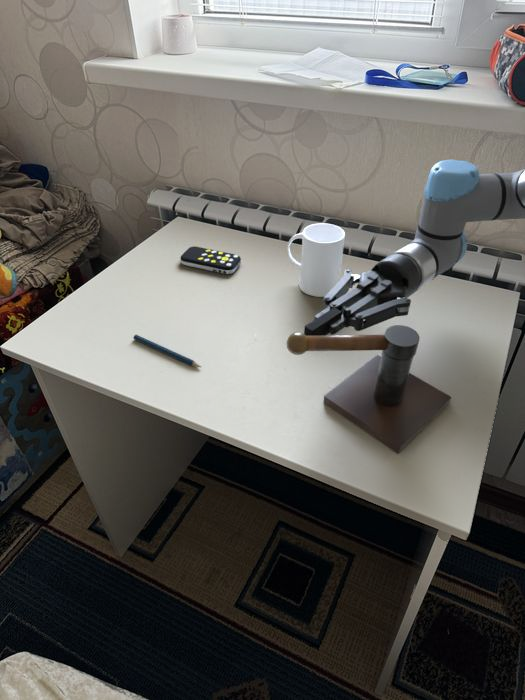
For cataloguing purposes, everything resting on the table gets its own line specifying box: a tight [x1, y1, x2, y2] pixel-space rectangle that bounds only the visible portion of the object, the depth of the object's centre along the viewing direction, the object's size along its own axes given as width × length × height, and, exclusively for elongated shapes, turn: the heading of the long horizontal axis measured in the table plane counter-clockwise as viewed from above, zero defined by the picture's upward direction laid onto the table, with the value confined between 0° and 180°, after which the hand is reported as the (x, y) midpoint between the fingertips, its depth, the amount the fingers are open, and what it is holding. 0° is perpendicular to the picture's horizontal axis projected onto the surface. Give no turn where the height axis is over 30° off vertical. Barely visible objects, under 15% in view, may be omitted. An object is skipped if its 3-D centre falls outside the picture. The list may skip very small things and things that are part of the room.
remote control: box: [179, 245, 242, 275], centre depth 111 cm, size 6×13×2 cm, turn 69°
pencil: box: [133, 334, 202, 368], centre depth 88 cm, size 1×1×15 cm
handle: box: [286, 324, 421, 360], centre depth 71 cm, size 18×5×3 cm, turn 91°
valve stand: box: [323, 350, 452, 455], centre depth 76 cm, size 14×14×11 cm
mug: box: [286, 222, 346, 298], centre depth 101 cm, size 12×8×12 cm
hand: (308, 335), depth 73 cm, fingers closed
